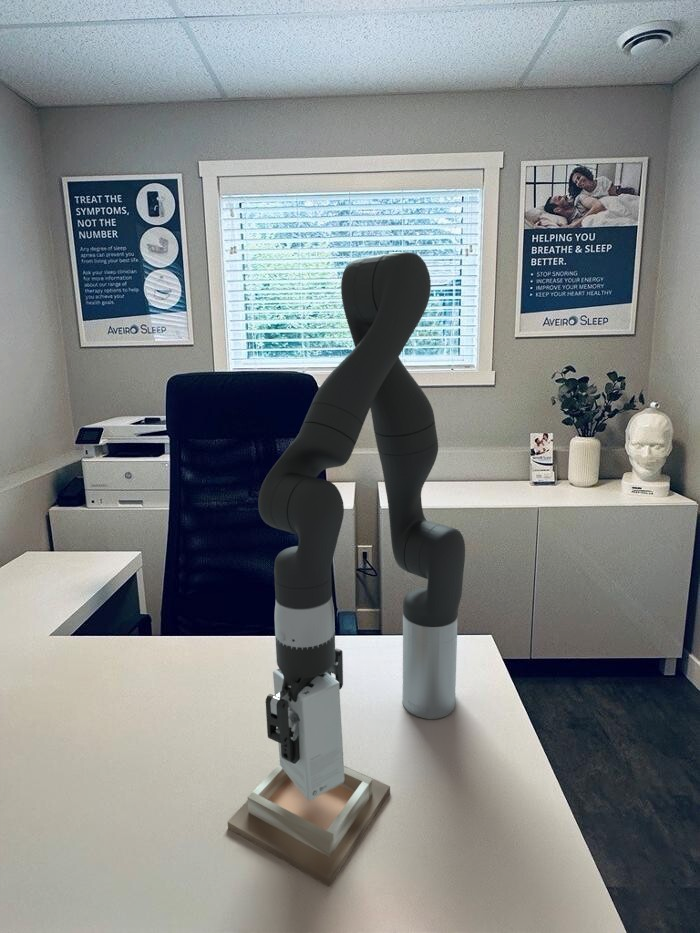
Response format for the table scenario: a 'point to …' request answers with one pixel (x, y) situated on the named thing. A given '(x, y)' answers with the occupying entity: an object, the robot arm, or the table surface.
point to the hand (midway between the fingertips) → (309, 740)
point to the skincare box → (316, 736)
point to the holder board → (310, 820)
